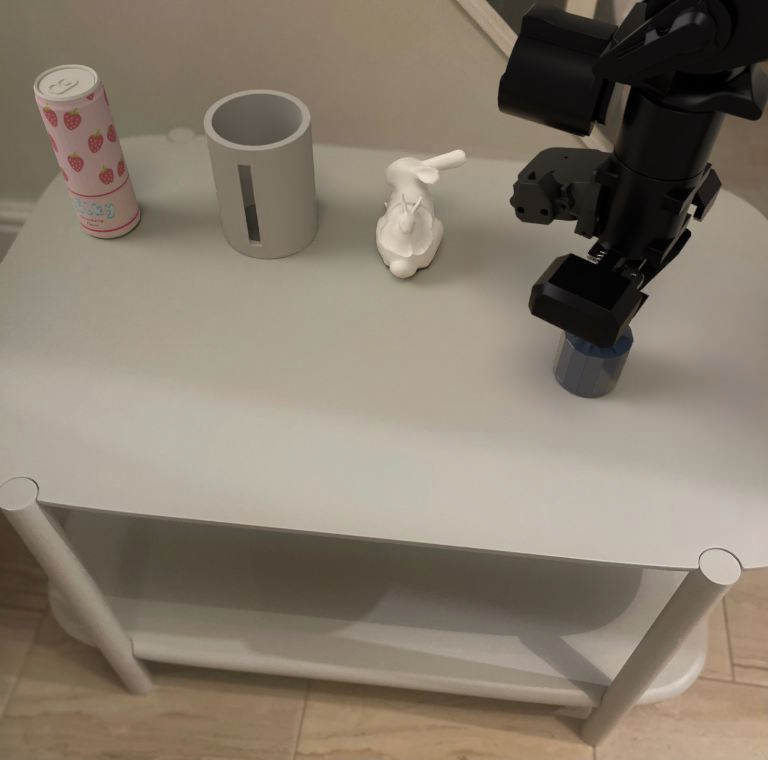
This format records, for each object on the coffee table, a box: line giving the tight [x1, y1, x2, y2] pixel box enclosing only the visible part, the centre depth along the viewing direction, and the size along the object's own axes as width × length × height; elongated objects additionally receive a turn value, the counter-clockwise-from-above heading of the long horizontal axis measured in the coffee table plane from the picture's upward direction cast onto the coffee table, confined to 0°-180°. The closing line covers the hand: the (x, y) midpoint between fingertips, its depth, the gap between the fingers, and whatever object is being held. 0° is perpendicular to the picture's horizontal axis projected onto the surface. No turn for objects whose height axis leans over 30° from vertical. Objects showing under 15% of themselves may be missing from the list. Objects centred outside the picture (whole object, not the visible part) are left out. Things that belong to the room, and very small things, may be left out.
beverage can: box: [33, 63, 141, 239], centre depth 72 cm, size 6×6×15 cm
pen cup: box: [552, 324, 635, 399], centre depth 65 cm, size 5×6×5 cm
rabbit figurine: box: [375, 149, 467, 279], centre depth 72 cm, size 12×8×10 cm, turn 173°
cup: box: [203, 88, 319, 260], centre depth 73 cm, size 9×9×12 cm
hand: (602, 322), depth 62 cm, fingers open, 4 cm apart
